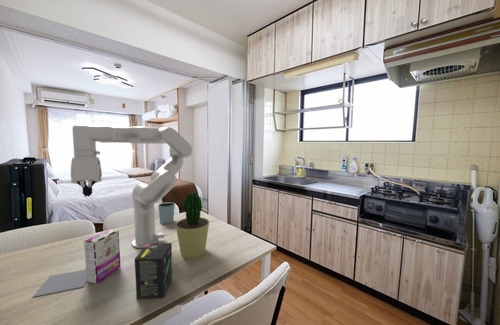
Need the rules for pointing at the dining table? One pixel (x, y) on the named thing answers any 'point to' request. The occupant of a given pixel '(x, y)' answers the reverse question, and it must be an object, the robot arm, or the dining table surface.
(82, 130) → the robot arm
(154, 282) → the tampon box
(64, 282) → the mat
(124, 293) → the dining table surface
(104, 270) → the candy bar box
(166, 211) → the blue grey cup
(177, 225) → the potted cactus
